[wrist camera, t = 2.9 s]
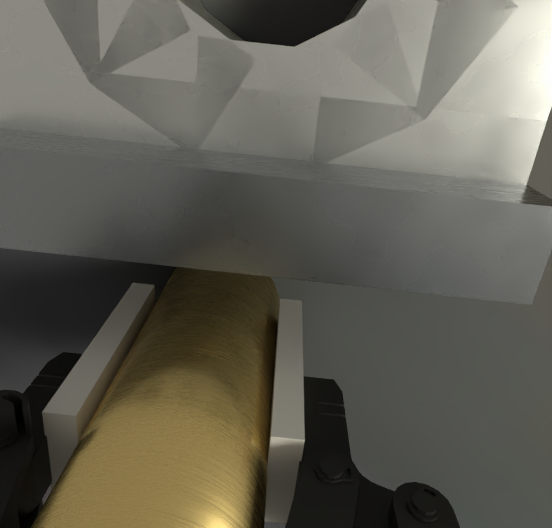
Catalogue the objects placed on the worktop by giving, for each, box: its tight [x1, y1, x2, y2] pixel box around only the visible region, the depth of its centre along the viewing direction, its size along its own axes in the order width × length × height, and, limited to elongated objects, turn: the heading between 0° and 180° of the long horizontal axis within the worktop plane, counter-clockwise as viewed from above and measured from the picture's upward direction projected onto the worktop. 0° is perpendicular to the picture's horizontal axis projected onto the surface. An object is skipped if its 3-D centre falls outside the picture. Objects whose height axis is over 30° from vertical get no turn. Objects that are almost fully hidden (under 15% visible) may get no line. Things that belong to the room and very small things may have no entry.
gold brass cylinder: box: [31, 267, 279, 528], centre depth 13 cm, size 4×4×12 cm
